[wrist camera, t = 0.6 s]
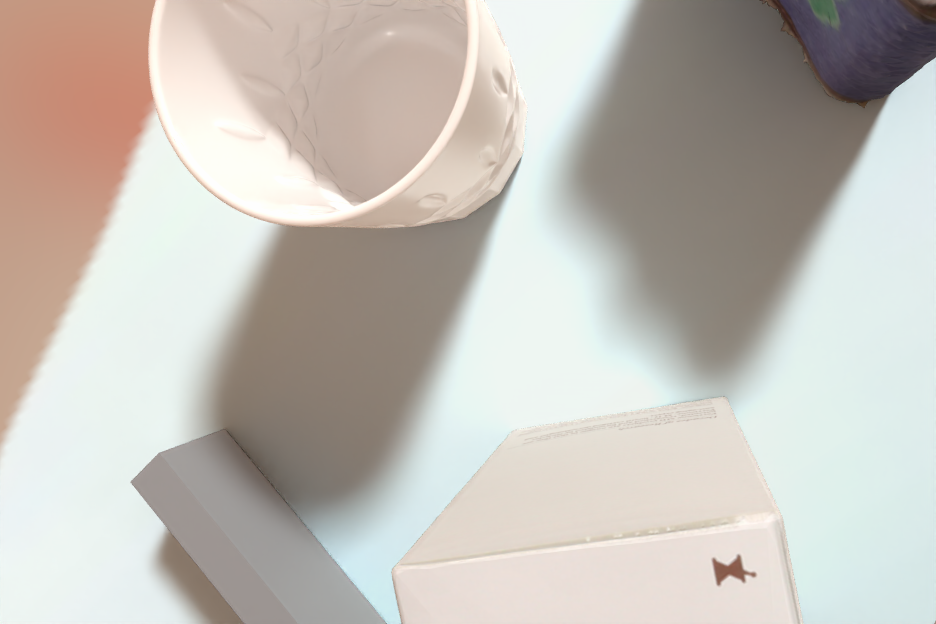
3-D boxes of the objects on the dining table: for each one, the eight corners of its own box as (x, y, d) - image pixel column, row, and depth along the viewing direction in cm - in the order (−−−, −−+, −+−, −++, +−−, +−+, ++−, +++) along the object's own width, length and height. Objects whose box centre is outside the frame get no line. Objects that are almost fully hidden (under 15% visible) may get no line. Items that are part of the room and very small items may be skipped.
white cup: (400, 285, 28) (261, 294, 18) (284, 101, 28) (89, 13, 19) (591, 153, 26) (550, 84, 16) (462, -40, 27) (349, -218, 17)
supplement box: (506, 426, 27) (378, 554, 15) (730, 391, 25) (796, 505, 13) (546, 638, 27) (453, 940, 15) (774, 618, 25) (879, 944, 13)
